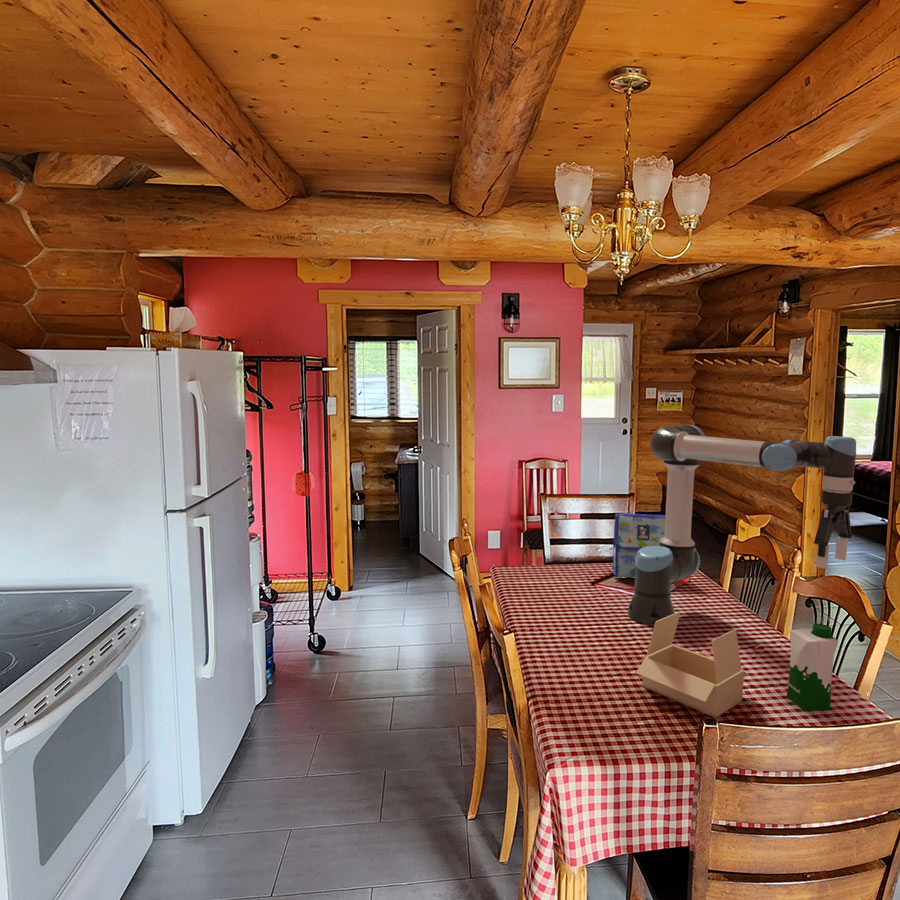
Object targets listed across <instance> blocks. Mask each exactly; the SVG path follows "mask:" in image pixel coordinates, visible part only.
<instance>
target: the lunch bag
mask: <svg viewBox="0 0 900 900" xmlns="http://www.w3.org/2000/svg"><path fill="white" fill-rule="evenodd" d="M665 517H666V514H665V515H664V514H646V513H643V514H641V513H640V514H639V513H631V512H630V513H629V512H621V513H615V514H614V529H613V531H614V532H613V543H612V546H613V547H612V548H613V552H612V555H613V557H612V570H613V575H615V576H614V578H615V577H635V568H636V564H635V561H636V555H637V552H638V551H639V550H640V549H641V548H644V547H647V546H651V547H652V546H659V545H660V539H661V538H662V537H664V535H665Z"/></svg>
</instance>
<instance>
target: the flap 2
mask: <svg viewBox="0 0 900 900" xmlns="http://www.w3.org/2000/svg"><path fill="white" fill-rule="evenodd" d="M711 647H712V653H713V654H712V655H713V659H714V662H715V670H716V677H717V683H719V682H721V681H722V680H724V679H726V678H728V677H729V676H731V675H733V674H735V673H736V672H738V671H740V670H742V663H741V657H740V654H741V653H740V649H739V641H738V634H737V629H736V628H734V629H733V630H730V631H728V632H726V633H724V634H722V635H720V636H718V637H716V638H714V639H712V640H711Z"/></svg>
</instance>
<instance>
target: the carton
mask: <svg viewBox="0 0 900 900" xmlns="http://www.w3.org/2000/svg"><path fill="white" fill-rule="evenodd" d="M741 669H742V668H741ZM635 674H637V675H638V676H640V677H642V683H641V684H642V688H644V689H647V690H650V691H651V692H652V691H653V692H655V693H657V694H658V695H661V696H664V697H666V698H668V699H670V700H672V701H674V702H677V703H680V704H682V705H684V706H686V707H689V708H690V709H693V710H696V711H698V712H700V713H702V714H704V715H707V716H710V717H712V718H713V719H717V718H718V717H720V716H721V715H723V714H724V713H726V712H728V711H729V710H731V709H732V708H734V707H735V706H737V705H738V704H740V703H741V702H743V695H744V681H745V678H744V677H745V676H746V677H750V674H749V673H747V672H746V671H745V670H744V669H742V670H740V671H738V672H736V673H735V674H733V675H731V676H729V677H728V678H726V679H724V680H722V681H721V682H719V683H717V677H716V670H715V662H714V657H713V658H712V657H709V656H707V655H704V654H702V653H699V652H696V651H692V650H690V649H687V648H684V647H682V646H679V645H676V644H672V645H669V646H667V647H665V648H663V649H661V650H659V651H656V652H654V653H652V654H650V655H646V656H644V657H643V661H642V663H641V664H640V666H639V667H638V668H637V670H636V672H635Z"/></svg>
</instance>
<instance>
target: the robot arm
mask: <svg viewBox="0 0 900 900" xmlns="http://www.w3.org/2000/svg"><path fill="white" fill-rule="evenodd" d="M649 446H650V451H652V452H651V453H652V454H653V455H654V456H655V458H656V457H657V458H658V459H659V460H661V461H662V460H663V464H664V465H665V466H666V467H667V478H666V481H667V483H666V501H665V515H666V517H665V535H664V537H662V538H661V539H660V545H659V546H652V547H651V546H647V547H644V548H641V549H640V550H639V551H638V552H637V555H636V561H635V564H636V568H635V579H634V593H633V595H632V598H631V601H630V603H629V605H628V607H627V608H628V609H627V610H628V611H627V615H628V618H630V619H631V620H632V621H635V622H638V623H640V624H643V625H644V624H645V625H650V626H654V625H655V622H656V621H657V620H660V619H662V618H665V617H667V616H670V615H672V614H675V613H676V612H675V609H674V606H673V602H672V598H671V593H672V590H671V589H672V584H673V583H675V582H678V581H681V580H686V579H688V578H689V577H692V576H693V575H695V574H696V572H697V571H698V569H699V568H700V564H701V557H700V554H699V552H698V551H697V549H696V548H695V547H696V542H695V541H694V540H693V539H692V521H693V520H692V518H693V502H694V501H693V500H694V484H695V483H694V481H695V470H696V469H697V468H698V467H699V466H700V463H701V461H705V462H711V463H712V462H715V463H720V464H721V463H722V464H723V463H724V464H731V465H732V464H733V465H741V466H751V467H756V468H757V467H759V468H766V469H770V470H771V471H776V472H786V471H788V470H793V469H797V468H798V469H799V468H802V467H803V468H805V467H807V468H816V469H822V470H823V471H822V472H823V473H822V475H823V476H822V484H821V488H822V489H823V490H821V498H820V499H821V500H820V501H821V503H822V504H823V505H826V506H827V507H826V509H821V513H820V519H819V522H818V527H817V530H816V534H815V538H814V541H813V544H814V545H817V548H816V550H817V551H816V560H815V561H816V562H815V563H816V564H815V567H816V568H821V569H826V570H827V569H828V565H829V554H830V553H829V552H830V545H829V543H830V540H831V537H832V534H833V531H834V529H836V532H837V536H836V539H835V540H836V542H835V552H834V559H837V560H841V561H847V550H848V542H849V541H848V539H852V528H851V526H852V525H851V517H850V506H852V504H853V493H852V492H853V489H854V488H853V487H854V485H855V484H856V481H855V480H854V478H855V469H856V461H857V460H856V457H857V439H855V438H854V437H851V436H842V435H840V436H838V435H833V436H832V435H831V436H830V435H829V436H827V437H826V439H825V441H823V442H821V441H820V442H818V441H808V440H800V439H786V440H783V441H782V442H775V441H761V440H751V439H738V438H728V437H727V438H726V437H717V436H715V437H714V436H707V435H706V434H705V433H704V431H702V429H700V428H699V427H698V426H696V425H692V424H686V423H685V424H676V425H675V424H674V425H665V426H661V427H659V428H658V429H656V430H655V431H654V432H653V434H652V435H651V437H650V440H649Z"/></svg>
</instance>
